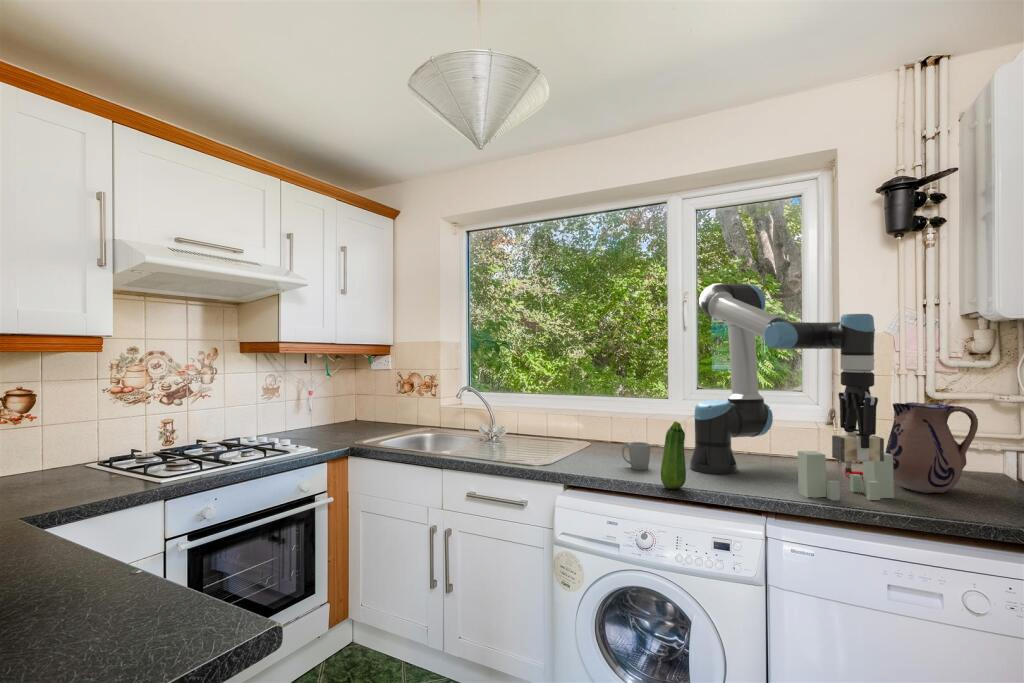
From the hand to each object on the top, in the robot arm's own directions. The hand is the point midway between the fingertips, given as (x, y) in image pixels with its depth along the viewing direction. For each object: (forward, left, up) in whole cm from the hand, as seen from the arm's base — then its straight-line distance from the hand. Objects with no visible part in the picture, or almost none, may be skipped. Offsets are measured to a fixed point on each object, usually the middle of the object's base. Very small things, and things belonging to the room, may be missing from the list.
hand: (857, 457), depth 137 cm
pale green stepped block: (-8, +6, -12) cm, 15 cm away
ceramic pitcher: (+28, +13, -12) cm, 33 cm away
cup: (-52, +38, -12) cm, 66 cm away
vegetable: (-46, +12, -12) cm, 49 cm away
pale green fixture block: (+8, +6, -12) cm, 16 cm away
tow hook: (+18, +28, -12) cm, 36 cm away
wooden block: (0, 0, 0) cm, 0 cm away
